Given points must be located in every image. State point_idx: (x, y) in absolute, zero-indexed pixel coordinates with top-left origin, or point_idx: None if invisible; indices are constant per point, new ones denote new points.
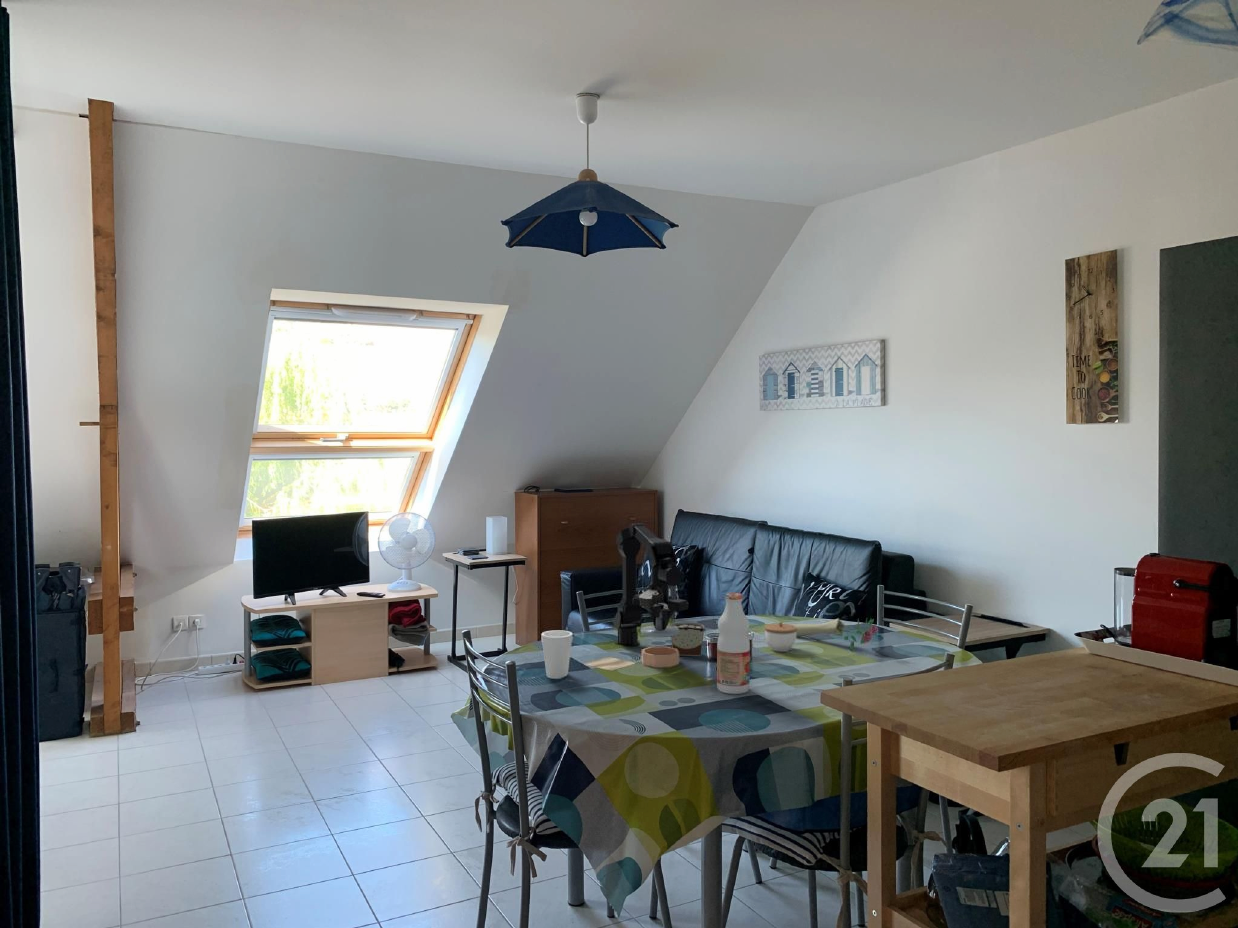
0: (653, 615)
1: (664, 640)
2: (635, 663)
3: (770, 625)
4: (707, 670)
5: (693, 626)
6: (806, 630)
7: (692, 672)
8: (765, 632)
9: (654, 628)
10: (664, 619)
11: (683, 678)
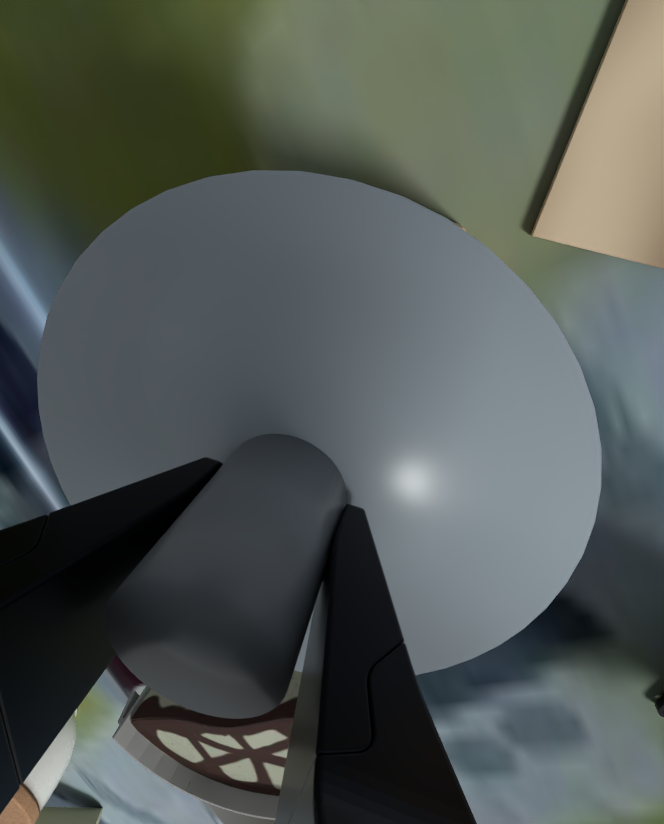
0: (319, 681)
1: (522, 765)
2: (536, 221)
3: (6, 811)
4: (43, 315)
5: (219, 759)
6: (36, 822)
7: (75, 225)
8: None
9: (383, 520)
10: (26, 523)
11: (22, 19)
